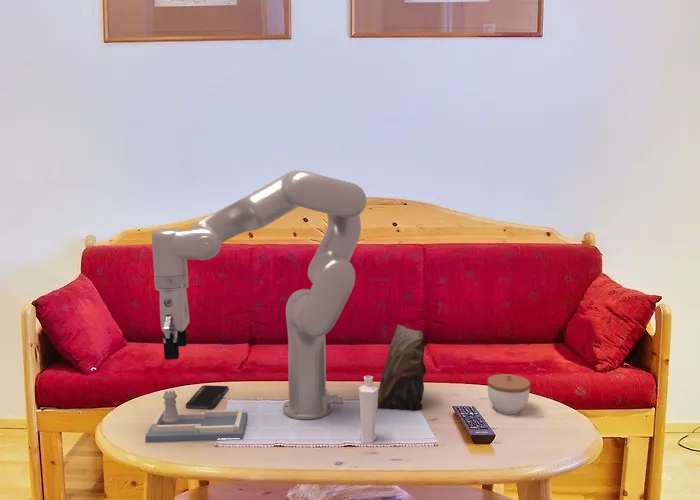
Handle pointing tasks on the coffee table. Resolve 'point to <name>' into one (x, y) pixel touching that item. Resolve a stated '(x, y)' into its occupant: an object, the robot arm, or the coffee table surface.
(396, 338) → the brown rock
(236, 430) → the keyhole board
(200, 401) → the phone
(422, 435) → the coffee table surface
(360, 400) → the perfume bottle
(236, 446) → the coffee table surface
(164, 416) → the rook chess piece
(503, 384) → the lidded jar
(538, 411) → the coffee table surface
